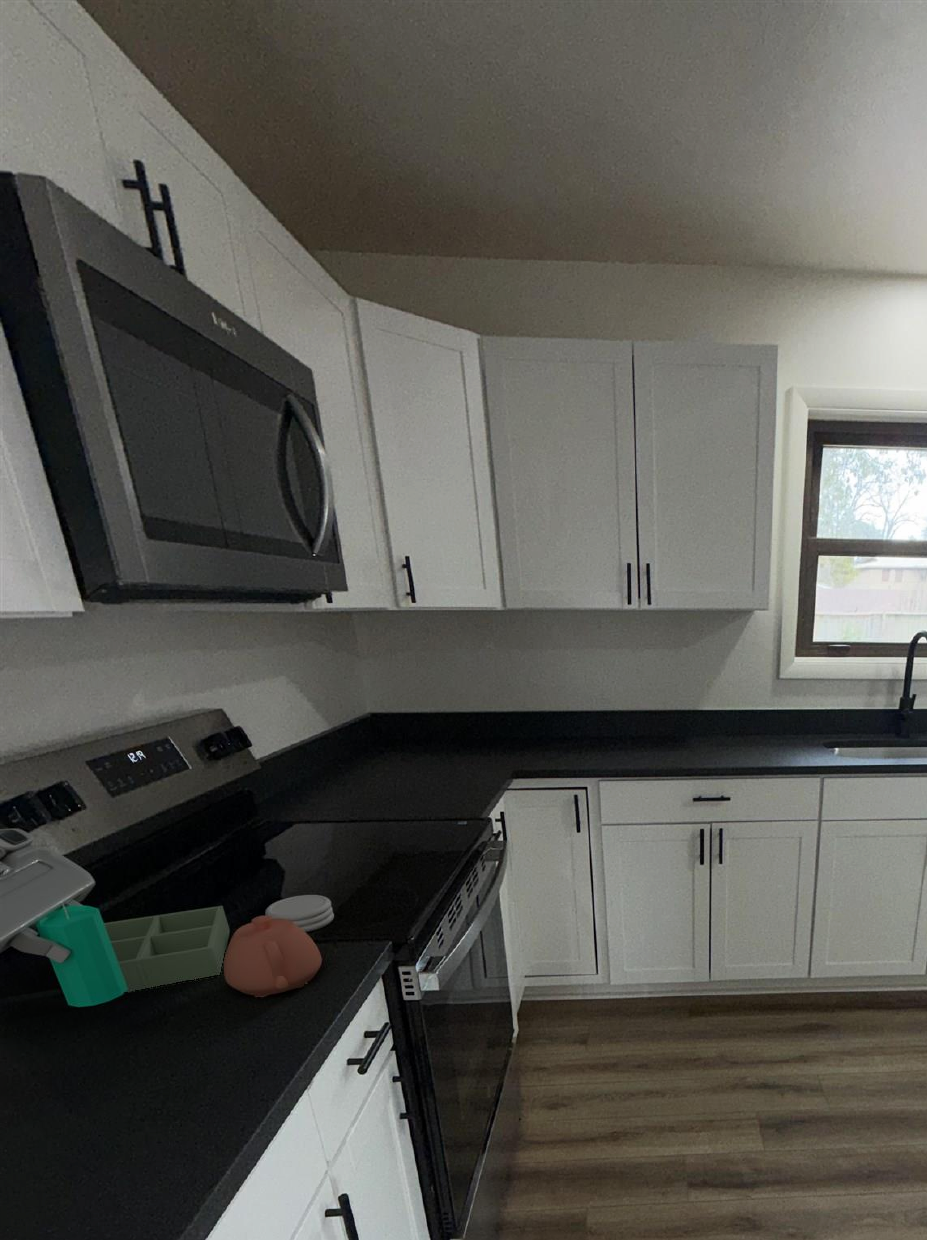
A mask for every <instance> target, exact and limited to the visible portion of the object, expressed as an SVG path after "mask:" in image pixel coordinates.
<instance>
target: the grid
mask: <svg viewBox="0 0 927 1240" xmlns="http://www.w3.org/2000/svg"><path fill="white" fill-rule="evenodd" d="M104 925H105V928H106V931H107V933H108V936H109V939H110V941H111V944H112V947H113V950H114V952H115V955H116V958H117V961H118V963H119V966H120V969H121V971H122V974H123V977H124V980H125V982H126V985H127V988H128V989H127V990H126V991H125V992H128V993H133V992H136V991H135V990H139V991H142V990H141V989H145V988H150V989H154V988H153V987H155V986H156V988H158V987H157V986H160V985H164V984H165V985H167V984H172V983H176V982H180V981H181V982H182V981H186V980H194V979H195V980H194V981H197V980H196V979H198V978H199V979H200V978H204V977H209V976H214V975H220V972H221V973H222V971H221V967H222V968H223V966H222V963H223V964H224V961H223V958H224V959H225V957H224V953H225V954H226V952H225V950H226V951H227V948H228V942H229V937H230V932H231V931H230V926H229V923H228V920H227V916H226V912H225V910H224V906H223V905H217V906H212V907H211V906H210V907H204V908H198V909H191V910H185V911H183V910H182V911H177V912H171V913H163V914H157V915H149V916H144V917H137V918H129V919H123V920H117V921H116V920H115V921H109V922H104ZM200 980H201V979H200ZM172 985H173V984H172ZM167 986H168V985H167ZM151 987H152V988H151ZM145 990H146V989H145ZM132 991H133V992H132Z"/></svg>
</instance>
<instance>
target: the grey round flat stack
mask: <svg viewBox="0 0 927 1240" xmlns="http://www.w3.org/2000/svg"><path fill="white" fill-rule="evenodd" d="M265 915H266V916H271V917H272V919H273V918H282V919H287V920H290V921H292V922H293V923H295V924H296V925H297V926H299V927H300V928H301V929H302V930H303V931H304V932H305V933H310V932H313V931H316V930H317V931H318V930H320V929H322V928H324V927H327V926H328V925H329V924H330V923H332V921H334V919H335V914H334V911H333V907H332V901H331V900H330V898H328V897H326V896H325V895H324V896H323V895H319V894H305V895H304V894H303V895H295V896H291V897H286V898H283V899H280V900H277V901H275V902H273V903H272V904H269V906H267V908H266V909H265Z"/></svg>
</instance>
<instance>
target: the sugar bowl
mask: <svg viewBox="0 0 927 1240" xmlns="http://www.w3.org/2000/svg"><path fill="white" fill-rule="evenodd" d="M322 961H323V959H322V955H321V952H320V949H319V948H318V946H317V944H316V943H315V942H314V940H313V939H312V937H310V935H309V934H308V932H306V933H305V932H304V931H303V930H302V929H301V928H300V927H299V926H297V925H296V924H295V923H293V922H292V921H290V920H287V919H282V918H273V919H272V917H271V916H266V914H265V915H259V916H256V917H254V918H252V919H251V922H249V923H246V924H244V925H242V926H240V927H239V928H237V929H236V930H235V932H234V933H233V935H232V936H231V939H230V941H229V943H228V945H227V947H226V952H225V957H224V961H223V975H224V979H225V982H226V984H228V985H229V986H230V987H231V988H233V989H235V990H237V991H239V992H241V993H242V994H246V995H250V996H254V998H257V997H261V998H265V997H267V996H270V995H276V994H280V993H284V992H288V991H292V990H294V989H300V987H301V988H303V987H302V986H304V984H307V985H308V982H310V981H311V980H312V979H313V978H314V977H315V975H316V974H317V972H318V971H319V969H320V968H321V965H322ZM304 987H305V986H304Z"/></svg>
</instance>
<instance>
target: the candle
mask: <svg viewBox="0 0 927 1240" xmlns="http://www.w3.org/2000/svg"><path fill="white" fill-rule="evenodd" d="M62 905H63V908H60V909H57V910H55V911H53V912H52V913H50V914H48V915H47V916H45V917H44V918H42V919H40V920H39V921H37V922H36V923H35V924H36V927H37V932H38V935H39V937H41V938H45V939H48V940H51V941H55V942H60V943H62V944H63V945H65V946H67V947H69V948H71V949H72V950H73V953H72V954H71V955H70V957H69V958H68V959H67V960H66V961H64V962H63V963H58V962H56V961H54V960H52V959H50V958H49V961H50V963H51V965H52V968H53V971H54V973H55V976H56V978H57V980H58V982H59V985H60V988H61V990H62V992H63V995H64V998H65V1000H66V1002H67V1005H68V1006H71V1007H77V1008H82V1007H83V1008H84V1007H92V1006H97V1005H100V1004H101V1005H102V1004H104V1003H108V1002H110V1001H113V1000H114V999H117V998H119V997H121V996H123V995H124V994H125V993H124V992H125V991H126V990H127V989H128V988H127V985H126V982H125V980H124V977H123V974H122V971H121V969H120V966H119V963H118V961H117V958H116V955H115V952H114V950H113V947H112V944H111V941H110V939H109V936H108V933H107V931H106V928H105V925H104V923H105V922H104V919H103V918H102V915H101V911H100V909H99V908H97V907H93V906H91V905H83V904H82V905H83V906H82V905H70V906H67V907H65V906H64V904H63V903H62Z"/></svg>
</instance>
